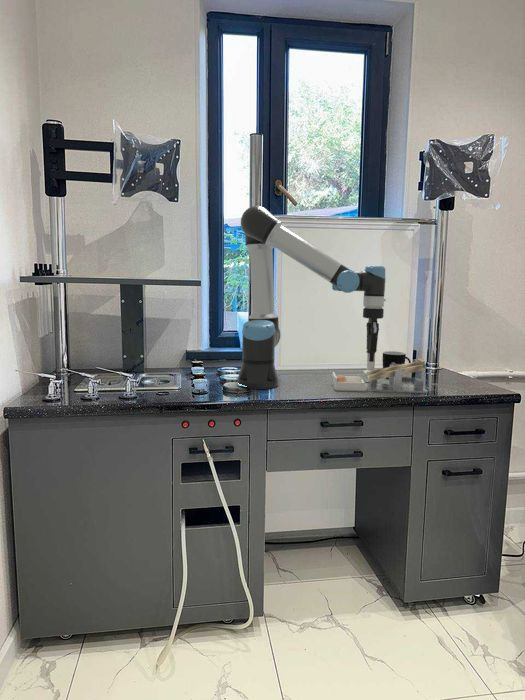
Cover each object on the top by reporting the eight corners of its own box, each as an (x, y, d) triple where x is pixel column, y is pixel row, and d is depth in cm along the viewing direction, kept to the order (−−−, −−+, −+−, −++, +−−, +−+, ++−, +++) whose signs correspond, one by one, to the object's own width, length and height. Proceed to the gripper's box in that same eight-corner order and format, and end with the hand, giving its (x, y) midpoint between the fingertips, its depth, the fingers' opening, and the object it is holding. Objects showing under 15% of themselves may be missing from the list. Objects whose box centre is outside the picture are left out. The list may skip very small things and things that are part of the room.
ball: (348, 385, 184) (338, 388, 185) (347, 382, 188) (337, 386, 189) (345, 374, 184) (334, 378, 184) (343, 372, 188) (333, 376, 188)
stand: (368, 391, 181) (369, 369, 180) (363, 384, 192) (364, 364, 191) (427, 393, 180) (429, 371, 179) (419, 386, 191) (421, 365, 190)
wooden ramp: (370, 383, 182) (368, 372, 182) (363, 374, 198) (362, 364, 197) (426, 372, 181) (424, 361, 180) (415, 364, 196) (413, 354, 196)
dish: (334, 390, 181) (335, 378, 181) (332, 383, 192) (332, 372, 192) (366, 391, 181) (367, 378, 180) (362, 384, 192) (362, 372, 191)
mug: (387, 380, 201) (388, 354, 199) (377, 375, 210) (379, 351, 208) (415, 379, 203) (416, 354, 202) (404, 374, 212) (406, 350, 210)
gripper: (387, 308, 184) (383, 373, 188) (380, 306, 197) (377, 366, 201) (366, 308, 185) (363, 372, 188) (360, 306, 197) (358, 366, 201)
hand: (370, 369), depth 194 cm, fingers closed
